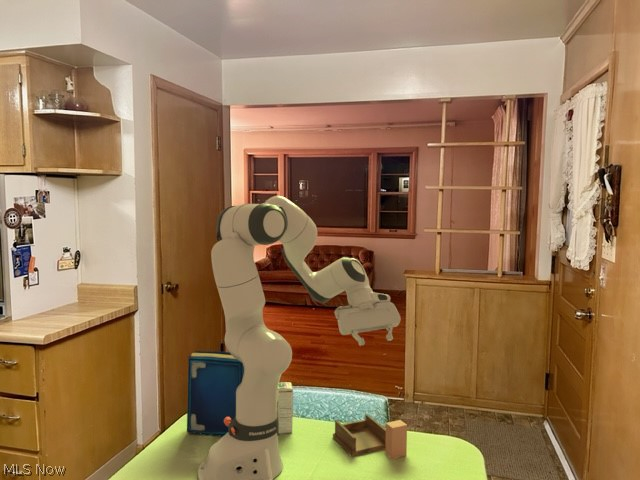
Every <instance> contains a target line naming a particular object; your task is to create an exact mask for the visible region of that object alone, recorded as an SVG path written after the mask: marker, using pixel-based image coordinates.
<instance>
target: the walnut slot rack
mask: <svg viewBox="0 0 640 480" xmlns="http://www.w3.org/2000/svg"><path fill="white" fill-rule="evenodd" d="M364 416H365V417H364V418H365V419H360V420H357V421H352V422H345V423H341V422H340V421H339V420H337V419H335V420H334V432H333V433H332V438H333V439H334V440H335V442H337V444H338V445H340V446H341V448H342V449H344V451H345V452H346V453H347V454H348V455H349V456H350V457H353V456H359V455H362V454H366V453H371V452H376V451H379V450H384V449H385V442H386V427H385V426H383V425H382V424H380V423H379V422H378V421H377V420H375V418H373V417H372V416H371V415H369V414H368V413H366V414H365V415H364Z"/></svg>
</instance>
